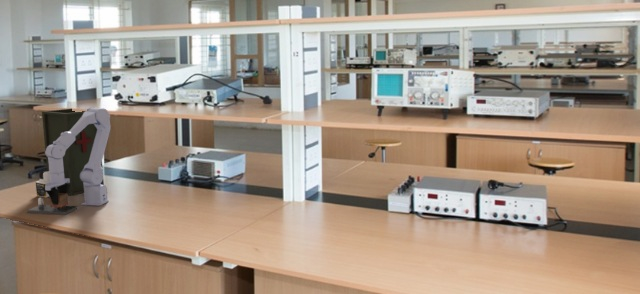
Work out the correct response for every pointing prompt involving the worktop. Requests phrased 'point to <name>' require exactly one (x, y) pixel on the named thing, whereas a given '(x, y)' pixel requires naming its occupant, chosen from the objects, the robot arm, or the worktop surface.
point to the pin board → (51, 209)
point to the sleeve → (60, 200)
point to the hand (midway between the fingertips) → (59, 202)
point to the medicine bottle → (43, 184)
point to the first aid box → (77, 151)
